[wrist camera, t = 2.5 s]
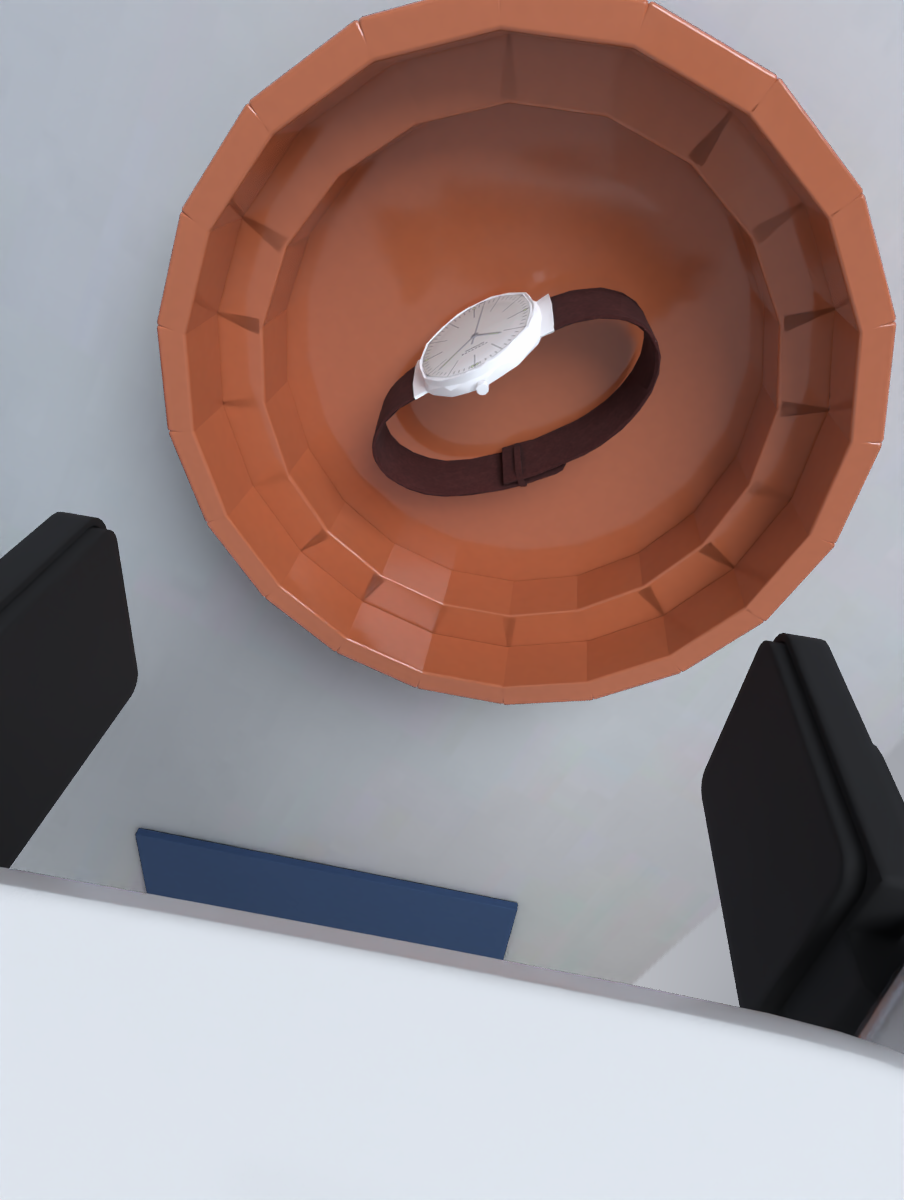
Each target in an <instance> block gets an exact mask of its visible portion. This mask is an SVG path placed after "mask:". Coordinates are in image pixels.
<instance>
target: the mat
mask: <svg viewBox="0 0 904 1200" xmlns="http://www.w3.org/2000/svg"><path fill="white" fill-rule="evenodd" d="M135 835H136V840H137V845H138V851H139V856H140V861H141V866H142V871H143V876H144V881H145V886H146V891H147V893H148V894H153V895H159V896H164V897H170V898H175V899H181V900H186V901H192V902H197V903H203V904H208V905H213V906H219V907H224V908H230V909H235V910H240V911H246V912H251V913H256V914H262V915H267V916H273V917H278V918H283V919H289V920H294V921H299V922H305V923H310V924H316V925H321V926H326V927H332V928H337V929H342V930H347V931H353V932H358V933H363V934H369V935H374V936H379V937H385V938H390V939H395V940H401V941H406V942H411V943H417V944H422V945H427V946H433V947H438V948H443V949H448V950H454V951H459V952H464V953H469V954H474V955H480V956H485V957H490V958H495V959H500V960H503V958H504V955H505V951H506V948H507V944H508V941H509V937H510V934H511V930H512V926H513V923H514V919H515V916H516V912H517V906H518V904H517V903H515V902H510V901H505V900H500V899H495V898H490V897H485V896H480V895H475V894H470V893H465V892H460V891H455V890H450V889H445V888H440V887H434V886H429V885H424V884H419V883H414V882H409V881H404V880H399V879H394V878H389V877H384V876H379V875H374V874H369V873H364V872H359V871H354V870H349V869H344V868H339V867H334V866H329V865H323V864H318V863H313V862H308V861H303V860H298V859H293V858H288V857H283V856H278V855H273V854H268V853H263V852H258V851H253V850H248V849H243V848H238V847H233V846H228V845H223V844H218V843H213V842H207V841H202V840H197V839H192V838H187V837H182V836H177V835H172V834H167V833H162V832H157V831H152V830H147V829H142V828H139V829H138V831H137V832H136V834H135Z"/></svg>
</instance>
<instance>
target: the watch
mask: <svg viewBox="0 0 904 1200" xmlns="http://www.w3.org/2000/svg"><path fill="white" fill-rule="evenodd" d="M594 319H616V320H622V321H627V322H629V323H632V324H634V325H636V326H638V327H639V328H640V329H641V330H642V331H644V339H643V344H642V349H641V354H640V356H639V358H638V360H637V362H636V364H635V366H634V368H633V370H632V371H631V373H630V374H629V375H628V377H627V378H626V379H625V380H624V382H623V383H622V384H621V386H620V387H619V388H618V389H617V390H616V391H615V392H614V393H613V394H612V395H611V396H610V397H609V398H608V399H607V400H605V401H604V402H603V403H601V404H600V405H598V406H597V407H596V408H594V409H593V410H591V411H590V412H589V413H587V414H586V415H584V416H582V417H581V418H579V419H577V420H575V421H573V422H571V423H569V424H567V425H564V426H562V427H560V428H558V429H556V430H553V431H551V432H549V433H547V434H544V435H542V436H540V437H538V438H536V439H533V440H528V441H524V442H521V443H515V444H514V445H510V446H507V447H503V448H502V452H501V453H496V454H492V455H487V456H482V457H477V458H473V459H463V460H448V461H445V460H439V459H433V458H429V457H426V456H423V455H420V454H417V453H414V452H412V451H411V450H409V449H407V448H406V447H404V446H402V445H401V444H399V442H398V441H397V440H396V439H395V438H394V437H393V436H392V435H391V433H390V431H389V429H388V427H387V425H386V422H387V421H388V420H389V419H390V418H391V417H392V416H393V415H394V414H395V413H396V412H397V411H398V410H399V409H400V408H402V407H404V406H405V405H407V404H409V403H410V402H412V401H414V400H415V399H418V398H420V397H421V396H423V395H425V394H427V393H430V394H432V395H437V396H446V397H455V396H459V395H462V394H466V393H470V392H473V391H476V390H477V393H478V394H479V395H485V394H487V393H488V392H489V384H491V383H492V382H494V381H495V380H497V379H498V378H500V377H501V376H503V375H504V374H506V373H507V372H509V371H510V370H512V369H513V368H515V367H516V366H518V365H519V364H520V363H521V362H522V361H523V360H524V359H525V358H526V357H527V355H528V354H529V353H530V352H531V351H532V350H533V349H534V348H535V347H536V346H537V345H538V344H539V341H540V339H541V337H544V336H546V335H548V334H551V333H553V332H554V331H555V330H558V329H560V328H563V327H565V326H568V325H571V324H574V323H578V322H583V321H589V320H594ZM660 362H661V354H660V350H659V345H658V341H657V339H656V338H655V336H654V333H653V331H652V329H651V327H650V325H649V323H648V321H647V319H646V317H645V314H644V312H643V311H642V309H641V308H640V306H639V305H638V304H637V302H636V301H634V300H633V299H631V298H630V297H629V296H627V295H626V294H624V293H622V292H619V291H615V290H611V289H607V288H602V287H599V288H588V289H577V290H571V291H568V292H564V293H561V294H558V295H555V296H552V297H550V296H549V294H547V295H545V296H544V297H542V298H541V299H539V300H538V301H534V300H532V298H531V297H530V296H529V295H528V294H527V293H526V292H516V293H505V294H500V295H496V296H491V297H489V298H487V299H485V300H483V301H481V302H479V303H477V304H475V305H473V306H470V307H468V308H467V309H465V310H464V311H462V312H460V313H459V314H457V315H456V316H455V317H454V318H453V319H451V320H450V321H449V322H448V323H447V324H446V325H444V326H443V327H442V328H441V329H440V330H439V331H438V332H437V333H436V334H435V335H434V336H433V337H432V338H431V339H430V341H429V342H428V343H427V344H426V346H425V349H424V351H423V354H422V356H421V359H420V360H418V361H417V364H416V366H414V367H413V368H412V369H410V370H409V371H407V372H406V373H405V374H404V375H403V376H402V377H401V378H400V379H399V380H398V381H397V382H396V383H395V384H394V385H393V386H392V387H391V388H390V390H389V392H388V394H387V395H386V397H385V399H384V402H383V405H382V409H381V411H380V415H379V418H378V422H377V425H376V429H375V434H374V437H373V443H372V452H373V457H374V460H375V462H376V464H377V465H378V467H379V468H380V470H381V471H382V472H383V473H384V474H385V475H386V476H387V478H389V479H391V480H392V481H394V482H396V483H397V484H399V485H401V486H403V487H405V488H406V489H409V490H412V491H415V492H418V493H421V494H424V495H432V496H441V497H450V496H467V495H476V494H482V493H488V492H495V491H501V490H506V489H510V488H514V487H518V486H520V487H525V486H527V484H528V483H531V482H534V481H537V480H540V479H543V478H546V477H549V476H552V475H555V474H557V473H559V472H561V471H563V469H564V467H565V465H566V463H568V462H570V461H572V460H575V459H577V458H579V457H582V456H584V455H586V454H588V453H589V452H591V451H593V450H595V449H596V448H598V447H600V446H601V445H603V444H604V443H605V442H607V441H608V440H609V439H611V438H612V437H613V436H615V435H616V434H617V433H619V432H620V431H621V430H623V428H624V427H625V426H626V425H627V424H628V423H629V422H630V421H631V420H632V419H633V418H634V417H635V415H636V414H637V413H638V412H639V411H640V410H641V408H642V407H643V405H644V404H645V402H646V401H647V399H648V398H649V396H650V395H651V393H652V391H653V388H654V386H655V383H656V381H657V378H658V376H659V371H660Z"/></svg>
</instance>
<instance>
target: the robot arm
mask: <svg viewBox="0 0 904 1200" xmlns="http://www.w3.org/2000/svg"><path fill="white" fill-rule="evenodd" d="M137 677H138V670H137V663H136V657H135V651H134V644H133V638H132V632H131V625H130V619H129V613H128V606H127V600H126V594H125V587H124V581H123V575H122V568H121V562H120V556H119V549H118V543H117V538H116V535H115V534H114V532H113V531H111V530H107V529H106V526H105V524H104V523H103V521H102V520H100V519H99V518H95V517H89V516H83V515H77V514H71V513H65V512H57V513H55V514H53V515H52V516H50V517H49V518H48V519H47V520H46V521H45V522H43V523H42V524H41V525H40V526H39V527H38V528H36V529H35V530H34V531H33V532H32V533H30V534H29V535H28V536H27V537H26V538H25V539H23V540H22V541H21V542H20V543H19V544H17V545H16V546H15V547H14V548H13V549H12V550H10V551H9V552H8V553H7V554H6V555H4V556H3V557H2V558H1V559H0V1200H904V802H903V800H902V797H901V795H900V793H899V791H898V789H897V787H896V784H895V782H894V780H893V778H892V775H891V773H890V771H889V769H888V767H887V765H886V762H885V760H884V758H883V756H882V754H881V753H880V751H879V750H878V748H877V746H875V745H874V744H873V743H872V741H871V739H870V737H869V734H868V732H867V730H866V728H865V725H864V723H863V721H862V719H861V717H860V714H859V712H858V710H857V708H856V706H855V703H854V701H853V699H852V697H851V694H850V692H849V690H848V688H847V686H846V683H845V681H844V679H843V677H842V674H841V672H840V670H839V668H838V666H837V663H836V661H835V659H834V657H833V654H832V652H831V650H830V648H829V646H828V644H827V643H826V641H824V640H822V639H816V638H810V637H804V636H798V635H792V634H786V633H781V634H779V635H778V636H777V637H776V638H775V640H774V641H773V642H772V641H763V643H762V644H761V645H760V647H759V648H758V651H757V653H756V655H755V657H754V660H753V662H752V664H751V666H750V669H749V671H748V673H747V675H746V678H745V680H744V682H743V684H742V687H741V689H740V691H739V694H738V696H737V698H736V700H735V703H734V705H733V707H732V709H731V712H730V714H729V716H728V718H727V721H726V723H725V725H724V728H723V730H722V732H721V734H720V737H719V739H718V741H717V743H716V746H715V748H714V750H713V752H712V755H711V757H710V759H709V761H708V764H707V766H706V768H705V771H704V774H703V778H702V786H701V793H702V801H703V806H704V812H705V817H706V823H707V828H708V834H709V839H710V845H711V850H712V856H713V861H714V867H715V873H716V878H717V884H718V889H719V895H720V900H721V906H722V911H723V917H724V922H725V928H726V933H727V938H728V944H729V950H730V955H731V961H732V966H733V972H734V977H735V983H736V989H737V994H738V1000H739V1005H740V1007H736V1006H731V1005H726V1004H722V1003H716V1002H712V1001H707V1000H702V999H698V998H693V997H688V996H683V995H679V994H674V993H669V992H664V991H659V990H654V989H650V988H645V987H640V986H635V985H630V984H625V983H620V982H615V981H609V980H604V979H599V978H594V977H589V976H583V975H578V974H573V973H568V972H563V971H557V970H552V969H547V968H542V967H537V966H531V965H526V964H521V963H516V962H511V961H505V960H500V959H495V958H490V957H485V956H480V955H474V954H469V953H464V952H459V951H454V950H448V949H443V948H438V947H433V946H427V945H422V944H417V943H411V942H406V941H401V940H395V939H390V938H385V937H379V936H374V935H369V934H363V933H358V932H353V931H347V930H342V929H337V928H332V927H326V926H321V925H316V924H310V923H305V922H299V921H294V920H289V919H283V918H278V917H273V916H267V915H262V914H256V913H251V912H246V911H240V910H235V909H230V908H224V907H219V906H213V905H208V904H203V903H197V902H192V901H186V900H181V899H175V898H170V897H164V896H159V895H153V894H148V893H142V892H137V891H131V890H126V889H120V888H115V887H109V886H104V885H98V884H93V883H87V882H82V881H76V880H71V879H65V878H60V877H54V876H49V875H43V874H37V873H32V872H26V871H21V870H15V869H10V866H11V865H12V863H13V862H14V861H15V859H16V858H17V856H18V855H19V854H20V852H21V851H22V849H23V848H24V847H25V845H26V844H27V842H28V841H29V839H30V838H31V837H32V835H33V834H34V832H35V831H36V830H37V828H38V827H39V825H40V824H41V823H42V821H43V820H44V818H45V817H46V815H47V814H48V813H49V811H50V810H51V808H52V807H53V806H54V804H55V803H56V801H57V800H58V799H59V797H60V796H61V794H62V793H63V791H64V790H65V789H66V787H67V786H68V784H69V783H70V782H71V780H72V779H73V777H74V776H75V775H76V773H77V772H78V770H79V769H80V768H81V766H82V765H83V763H84V762H85V760H86V759H87V758H88V756H89V755H90V753H91V752H92V751H93V749H94V748H95V746H96V745H97V744H98V742H99V741H100V739H101V738H102V736H103V735H104V734H105V732H106V731H107V729H108V728H109V727H110V725H111V724H112V722H113V721H114V720H115V718H116V717H117V715H118V714H119V712H120V711H121V710H122V708H123V707H124V705H125V704H126V703H127V701H128V700H129V698H130V697H131V695H132V694H133V692H134V689H135V687H136V683H137Z"/></svg>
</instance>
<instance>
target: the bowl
mask: <svg viewBox="0 0 904 1200" xmlns="http://www.w3.org/2000/svg"><path fill="white" fill-rule="evenodd" d="M862 192H863V190H862V188H861V187H860V185H859V184H858V183H857V181H856V180H855V178H854V177H853V176H852V174H851V173H850V172H849V170H848V169H847V168H846V166H845V165H844V163H843V162H842V161H841V159H840V158H839V157H838V155H837V154H836V153H835V151H834V150H833V149H832V147H831V146H830V144H829V143H828V142H827V140H826V139H825V138H824V136H823V135H822V134H821V132H820V131H819V129H818V128H817V127H816V125H815V124H814V123H813V121H812V120H811V119H810V117H809V116H808V115H807V113H806V112H805V110H804V109H803V108H802V106H801V105H800V104H799V102H798V101H797V100H796V98H795V97H794V95H793V94H792V93H791V91H790V90H789V89H788V87H787V86H786V85H785V83H784V82H783V81H782V79H780V78H777V76H776V74H775V73H773V72H771V71H770V70H768V69H766V68H764V67H763V66H761V65H759V64H758V63H756V62H754V61H753V60H751V59H749V58H748V57H746V56H744V55H743V54H741V53H739V52H738V51H736V50H734V49H733V48H731V47H729V46H728V45H726V44H724V43H723V42H721V41H719V40H718V39H716V38H714V37H713V36H711V35H709V34H707V33H706V32H704V31H702V30H701V29H699V28H697V27H696V26H694V25H692V24H691V23H689V22H687V21H686V20H684V19H682V18H681V17H679V16H677V15H676V14H674V13H672V12H671V11H669V10H667V9H666V8H664V7H662V6H661V5H659V4H657V3H656V2H650V3H648V1H647V0H421V1H417V2H414V3H410V4H406V5H403V6H399V7H395V8H392V9H388V10H384V11H381V12H377V13H373V14H370V15H366V16H362V17H361V18H360V19H359V20H354V21H353V22H351V23H350V24H349V25H347V26H346V27H345V28H343V29H342V30H341V31H339V32H338V33H337V34H336V35H334V36H333V37H332V38H330V39H329V40H328V41H326V42H325V43H324V44H322V45H321V46H320V47H319V48H317V49H316V50H315V51H313V52H312V53H311V54H309V55H308V56H307V57H305V58H304V59H303V60H301V61H300V62H299V63H298V64H296V65H295V66H294V67H292V68H291V69H290V70H288V71H287V72H286V73H284V74H283V75H282V76H281V77H279V78H278V79H277V80H275V81H274V82H273V83H271V84H270V85H269V86H267V87H266V88H265V89H264V90H262V91H261V92H260V93H258V94H257V95H256V96H254V97H253V98H252V99H251V100H250V102H249V103H248V104H246V105H245V106H244V108H243V110H242V111H241V113H240V115H239V116H238V118H237V119H236V121H235V123H234V124H233V126H232V128H231V129H230V131H229V132H228V134H227V136H226V137H225V139H224V141H223V142H222V144H221V145H220V147H219V149H218V150H217V152H216V154H215V155H214V157H213V158H212V160H211V162H210V163H209V165H208V167H207V168H206V170H205V172H204V173H203V175H202V176H201V178H200V180H199V181H198V183H197V185H196V186H195V188H194V189H193V191H192V193H191V194H190V196H189V198H188V199H187V201H186V202H185V204H184V206H183V207H182V212H181V213H180V217H179V221H178V226H177V231H176V236H175V240H174V245H173V250H172V254H171V259H170V264H169V269H168V273H167V278H166V283H165V287H164V292H163V297H162V301H161V306H160V311H159V316H158V320H157V324H158V327H157V332H158V341H159V351H160V360H161V370H162V379H163V388H164V398H165V407H166V417H167V426H168V430H170V431H169V435H170V437H171V440H172V442H173V444H174V447H175V449H176V452H177V454H178V456H179V459H180V461H181V464H182V466H183V468H184V471H185V473H186V476H187V478H188V480H189V483H190V485H191V488H192V490H193V492H194V495H195V497H196V499H197V502H198V504H199V507H200V509H201V511H202V514H203V516H204V519H205V521H206V522H207V525H208V526H209V528H210V529H211V530H212V532H213V533H214V534H215V535H216V537H217V538H218V539H219V541H220V542H221V543H222V544H223V546H224V547H225V548H226V550H227V551H228V552H229V553H230V555H231V556H232V557H233V558H234V560H235V561H236V562H237V564H238V565H239V566H240V567H241V569H242V570H243V571H244V573H245V574H246V575H247V576H248V578H249V579H250V580H251V582H252V583H253V584H254V585H255V587H256V588H257V589H258V590H259V592H260V593H261V594H262V596H264V597H265V598H266V599H267V600H268V601H270V602H271V603H272V604H273V605H275V606H276V607H277V608H279V609H280V610H281V611H282V612H284V613H285V614H286V615H288V616H289V617H290V618H292V619H293V620H294V621H295V622H297V623H298V624H299V625H301V626H302V627H303V628H304V629H306V630H307V631H308V632H310V633H311V634H312V635H314V636H315V637H316V638H317V639H319V640H320V641H321V642H323V643H324V644H325V645H327V646H328V647H329V648H330V649H332V650H333V651H337V653H338V654H340V655H343V656H345V657H347V658H349V659H352V660H354V661H356V662H358V663H361V664H363V665H365V666H367V667H370V668H372V669H374V670H376V671H379V672H381V673H383V674H385V675H388V676H390V677H392V678H394V679H397V680H399V681H401V682H403V683H406V684H408V685H410V686H412V687H418V688H419V689H423V690H429V691H434V692H439V693H445V694H450V695H456V696H461V697H466V698H472V699H477V700H483V701H488V702H493V703H499V704H504V705H510V704H529V703H548V702H567V701H585V700H593V699H597V698H600V697H604V696H607V695H610V694H613V693H617V692H620V691H623V690H627V689H630V688H633V687H636V686H640V685H643V684H646V683H649V682H653V681H656V680H659V679H663V678H666V677H669V676H672V675H676V674H679V673H681V671H682V672H683V671H685V670H687V669H689V668H690V667H692V666H693V665H695V664H697V663H698V662H700V661H702V660H703V659H705V658H706V657H708V656H710V655H711V654H713V653H714V652H716V651H718V650H719V649H721V648H723V647H724V646H726V645H727V644H729V643H731V642H732V641H734V640H736V639H737V638H739V637H740V636H742V635H744V634H745V633H747V632H749V631H750V630H752V629H753V628H755V627H757V626H758V625H760V624H761V623H763V622H764V621H766V620H767V619H768V618H769V617H770V616H771V615H772V614H773V613H774V611H775V610H776V609H777V608H778V607H779V606H780V605H781V604H782V603H783V602H784V601H785V599H786V598H787V597H788V596H789V595H790V594H791V593H792V592H793V591H794V590H795V589H796V587H797V586H798V585H799V584H800V583H801V582H802V581H803V580H804V579H805V578H806V577H807V575H808V574H809V573H810V572H811V571H812V570H813V569H814V568H815V567H816V566H817V565H818V563H819V562H820V561H821V560H822V559H823V558H824V557H825V556H826V555H827V554H828V553H829V551H830V550H831V549H832V548H833V547H834V546H835V544H834V543H836V542H837V539H838V537H839V535H840V533H841V531H842V529H843V527H844V525H845V522H846V520H847V518H848V516H849V514H850V512H851V510H852V508H853V505H854V503H855V501H856V499H857V497H858V495H859V493H860V491H861V488H862V486H863V484H864V482H865V480H866V478H867V476H868V474H869V471H870V469H871V467H872V465H873V463H874V461H875V459H876V457H877V454H878V452H879V450H880V448H881V446H882V443H881V442H882V441H883V439H884V431H885V422H886V413H887V404H888V395H889V386H890V377H891V368H892V358H893V349H894V340H895V331H896V323H895V318H896V315H895V312H894V308H893V304H892V300H891V296H890V292H889V288H888V284H887V280H886V276H885V272H884V268H883V265H882V261H881V257H880V253H879V249H878V245H877V241H876V237H875V233H874V229H873V225H872V221H871V218H870V214H869V210H868V206H867V202H866V198H865V195H864V194H863V193H862ZM599 287H602V288H607V289H611V290H615V291H619V292H622V293H624V294H626V295H627V296H629V297H630V298H631V299H633V300H634V301H636V302H637V304H638V305H639V306H640V308H641V309H642V311H643V312H644V314H645V317H646V319H647V321H648V323H649V325H650V327H651V329H652V331H653V333H654V336H655V338H656V339H657V341H658V345H659V350H660V354H661V362H660V371H659V376H658V378H657V381H656V383H655V386H654V388H653V391H652V393H651V395H650V396H649V398H648V399H647V401H646V402H645V404H644V405H643V407H642V408H641V410H640V411H639V412H638V413H637V414H636V415H635V417H634V418H633V419H632V420H631V421H630V422H629V423H628V424H627V425H626V426H625V427H624V428H623V430H621V431H620V432H619V433H617V434H616V435H615V436H613V437H612V438H611V439H609V440H608V441H607V442H605V443H604V444H603V445H601V446H600V447H598V448H596V449H595V450H593V451H591V452H589V453H588V454H586V455H584V456H582V457H579V458H577V459H575V460H572V461H570V462H568V463H566V465H565V467H564V469H563V471H561V472H559V473H557V474H555V475H552V476H549V477H546V478H543V479H540V480H537V481H534V482H531V483H528V484H527V486H525V487H520V486H518V487H514V488H510V489H506V490H501V491H495V492H488V493H482V494H476V495H467V496H450V497H441V496H432V495H424V494H421V493H418V492H415V491H412V490H409V489H406V488H405V487H403V486H401V485H399V484H397V483H396V482H394V481H392V480H391V479H389V478H387V476H386V475H385V474H384V473H383V472H382V471H381V470H380V468H379V467H378V465H377V464H376V462H375V460H374V457H373V452H372V443H373V437H374V434H375V429H376V425H377V422H378V418H379V415H380V411H381V409H382V405H383V402H384V399H385V397H386V395H387V394H388V392H389V390H390V388H391V387H392V386H393V385H394V384H395V383H396V382H397V381H398V380H399V379H400V378H401V377H402V376H403V375H404V374H405V373H406V372H407V371H409V370H410V369H412V368H413V367H414V366H416V364H417V361H418V360H420V359H421V356H422V354H423V351H424V349H425V346H426V344H427V343H428V342H429V341H430V339H431V338H432V337H433V336H434V335H435V334H436V333H437V332H438V331H439V330H440V329H441V328H442V327H443V326H444V325H446V324H447V323H448V322H449V321H450V320H451V319H453V318H454V317H455V316H456V315H457V314H459V313H460V312H462V311H464V310H465V309H467V308H468V307H470V306H473V305H475V304H477V303H479V302H481V301H483V300H485V299H487V298H489V297H491V296H496V295H500V294H505V293H516V292H526V293H527V294H528V295H529V296H530V297H531V298H532V300H534V301H538V300H539V299H541V298H542V297H544V296H545V295H547V294H549V296H550V297H552V296H555V295H558V294H561V293H564V292H568V291H571V290H577V289H588V288H599ZM643 339H644V331H642V330H641V329H640V328H639V327H638V326H636V325H634V324H632V323H629V322H627V321H622V320H616V319H594V320H589V321H583V322H578V323H574V324H571V325H568V326H565V327H563V328H560V329H558V330H555V331H554V332H553V333H551V334H548V335H546V336H544V337H541V339H540V341H539V344H538V345H537V346H536V347H535V348H534V349H533V350H532V351H531V352H530V353H529V354H528V355H527V357H526V358H525V359H524V360H523V361H522V362H521V363H520V364H519V365H518V366H516V367H515V368H513V369H512V370H510V371H509V372H507V373H506V374H504V375H503V376H501V377H500V378H498V379H497V380H495V381H494V382H492V383H491V384H489V392H488V393H487V394H485V395H479V394H478V393H477V390H476V391H473V392H470V393H466V394H462V395H459V396H455V397H446V396H437V395H432V394H430V393H427V394H425V395H423V396H421V397H420V398H418V399H415V400H414V401H412V402H410V403H409V404H407V405H405V406H404V407H402V408H400V409H399V410H398V411H397V412H396V413H395V414H394V415H393V416H392V417H391V418H390V419H389V420H388V421H387V422H386V425H387V427H388V429H389V431H390V433H391V435H392V436H393V437H394V438H395V439H396V440H397V441H398V442H399V444H401V445H402V446H404V447H406V448H407V449H409V450H411V451H412V452H414V453H417V454H420V455H423V456H426V457H429V458H433V459H439V460H445V461H448V460H463V459H473V458H477V457H482V456H487V455H492V454H496V453H501V452H502V448H503V447H507V446H510V445H514V444H515V443H521V442H524V441H528V440H533V439H536V438H538V437H540V436H542V435H544V434H547V433H549V432H551V431H553V430H556V429H558V428H560V427H562V426H564V425H567V424H569V423H571V422H573V421H575V420H577V419H579V418H581V417H582V416H584V415H586V414H587V413H589V412H590V411H591V410H593V409H594V408H596V407H597V406H598V405H600V404H601V403H603V402H604V401H605V400H607V399H608V398H609V397H610V396H611V395H612V394H613V393H614V392H615V391H616V390H617V389H618V388H619V387H620V386H621V384H622V383H623V382H624V380H625V379H626V378H627V377H628V375H629V374H630V373H631V371H632V370H633V368H634V366H635V364H636V362H637V360H638V358H639V356H640V354H641V349H642V344H643Z"/></svg>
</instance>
